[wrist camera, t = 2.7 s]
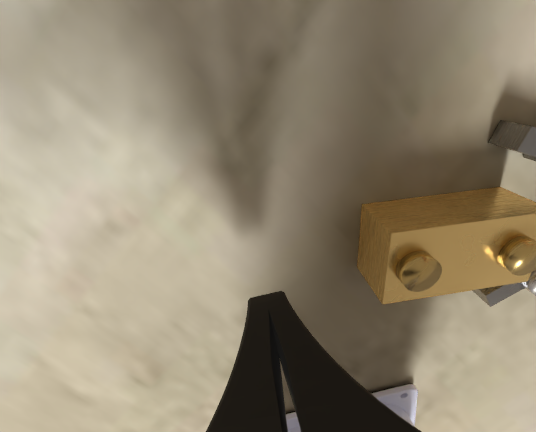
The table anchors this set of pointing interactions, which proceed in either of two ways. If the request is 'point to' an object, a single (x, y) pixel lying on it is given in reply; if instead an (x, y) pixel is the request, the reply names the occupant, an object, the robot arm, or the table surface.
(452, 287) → the master link
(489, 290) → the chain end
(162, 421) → the table surface
